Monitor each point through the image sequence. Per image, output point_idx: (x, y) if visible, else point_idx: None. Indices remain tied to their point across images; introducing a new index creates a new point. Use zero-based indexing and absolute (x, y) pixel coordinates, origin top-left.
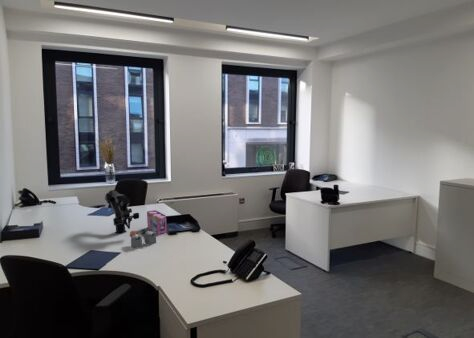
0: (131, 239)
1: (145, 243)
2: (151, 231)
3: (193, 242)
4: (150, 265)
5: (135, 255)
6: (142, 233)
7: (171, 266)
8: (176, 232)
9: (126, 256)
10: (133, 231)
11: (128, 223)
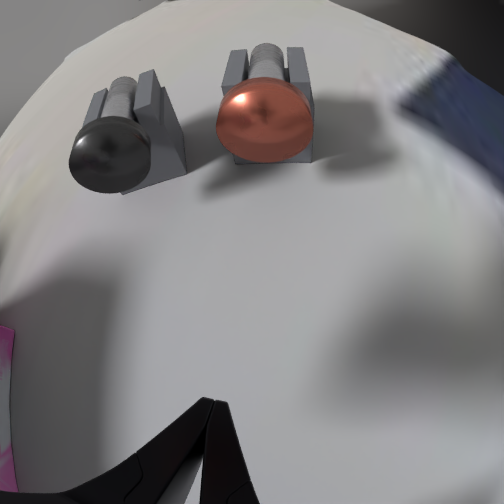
0: (312, 101)
1: (185, 166)
2: (84, 124)
3: (46, 113)
4: (294, 12)
5: (322, 57)
6: (150, 148)
7: (243, 4)
8: None
9: (366, 65)
10: (265, 78)
11: (172, 480)
